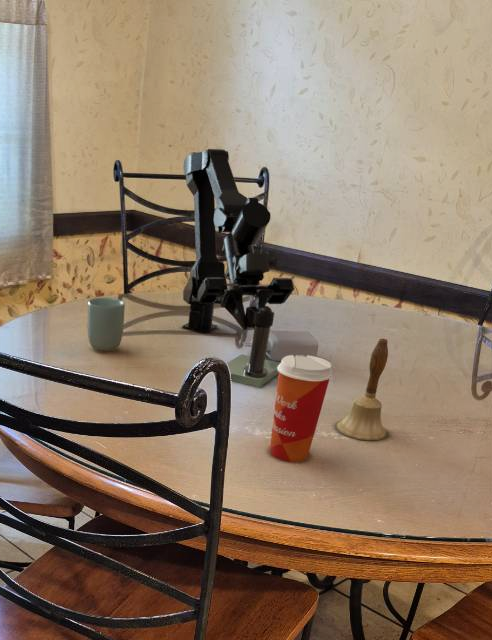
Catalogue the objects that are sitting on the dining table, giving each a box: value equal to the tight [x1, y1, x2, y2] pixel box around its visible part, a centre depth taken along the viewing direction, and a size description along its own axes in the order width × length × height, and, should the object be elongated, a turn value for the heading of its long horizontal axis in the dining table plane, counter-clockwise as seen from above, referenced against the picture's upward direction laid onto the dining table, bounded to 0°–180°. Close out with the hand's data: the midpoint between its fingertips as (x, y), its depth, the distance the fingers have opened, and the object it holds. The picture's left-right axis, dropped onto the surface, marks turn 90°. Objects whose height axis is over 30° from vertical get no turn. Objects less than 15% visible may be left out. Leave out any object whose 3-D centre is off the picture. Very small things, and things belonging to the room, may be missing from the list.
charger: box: [242, 329, 320, 362], centre depth 155 cm, size 5×9×15 cm
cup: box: [86, 297, 126, 352], centre depth 153 cm, size 8×8×10 cm
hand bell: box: [336, 338, 389, 442], centre depth 119 cm, size 8×8×16 cm
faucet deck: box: [227, 325, 281, 388], centre depth 143 cm, size 13×10×11 cm
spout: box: [245, 305, 275, 331], centre depth 139 cm, size 9×4×6 cm, turn 12°
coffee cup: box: [269, 355, 334, 463], centre depth 110 cm, size 8×8×15 cm
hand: (251, 329), depth 142 cm, fingers closed on spout, 2 cm apart
